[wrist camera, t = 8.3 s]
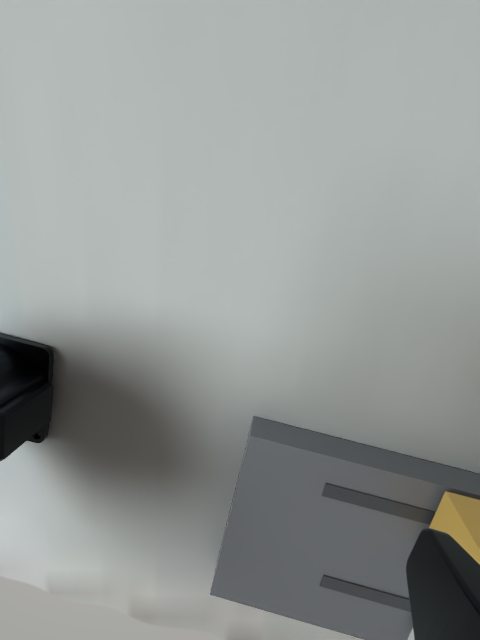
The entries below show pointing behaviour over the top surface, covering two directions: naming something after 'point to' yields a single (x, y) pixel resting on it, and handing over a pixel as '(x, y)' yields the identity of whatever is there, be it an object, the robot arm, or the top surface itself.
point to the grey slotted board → (329, 529)
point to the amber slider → (460, 521)
